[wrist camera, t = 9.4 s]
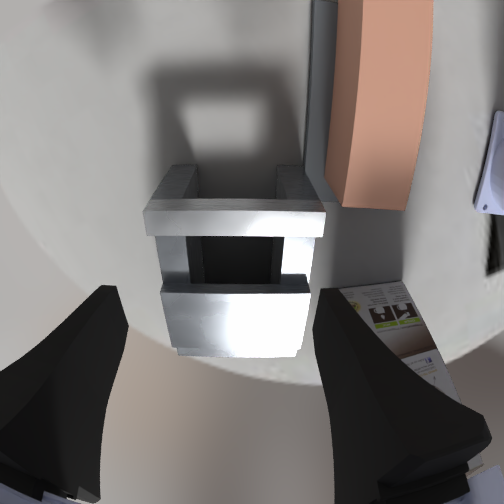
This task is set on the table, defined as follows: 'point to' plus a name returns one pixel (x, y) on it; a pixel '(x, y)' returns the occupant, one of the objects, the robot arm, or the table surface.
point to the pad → (320, 95)
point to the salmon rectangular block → (378, 100)
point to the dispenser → (235, 295)
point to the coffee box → (404, 335)
